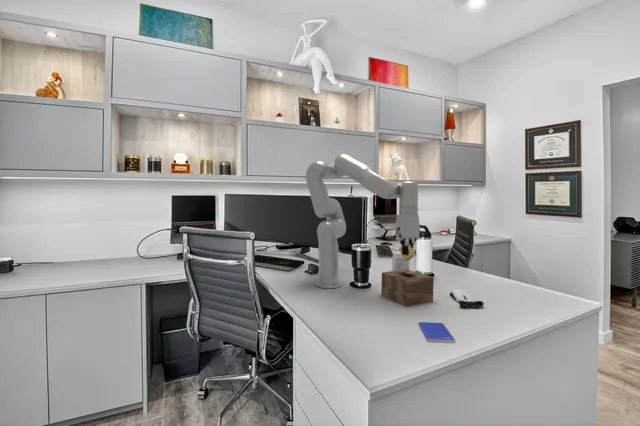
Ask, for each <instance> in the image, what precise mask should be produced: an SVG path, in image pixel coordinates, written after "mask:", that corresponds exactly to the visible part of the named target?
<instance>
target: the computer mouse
mask: <svg viewBox="0 0 640 426" xmlns="http://www.w3.org/2000/svg"><path fill="white" fill-rule="evenodd" d="M448 295H449V298H450V299H452V300H454V301H456V302H457V303H459V308H460V309H468V308H470V309H483V308H484V305H485V303H484V301H483V300H477V301H476V300H475V301H473V299H472V297H471V295H469V294H468V293H467V292H465V291H464V290H461V289H453V290H452V291H450V293H449V294H448Z"/></svg>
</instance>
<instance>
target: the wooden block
mask: <svg viewBox="0 0 640 426" xmlns="http://www.w3.org/2000/svg"><path fill="white" fill-rule="evenodd" d="M407 246H408V255H403V254H402V245H401V246H400V247H399V248H398V250H399V252H401V255H402V257H403V259H404V261H409V260H410V261H411V260H412V259H413V258H414V257H416V252H415V250H414V247H413V248H412V247H411V244H410V242H409V243H408V242H407Z"/></svg>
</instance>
